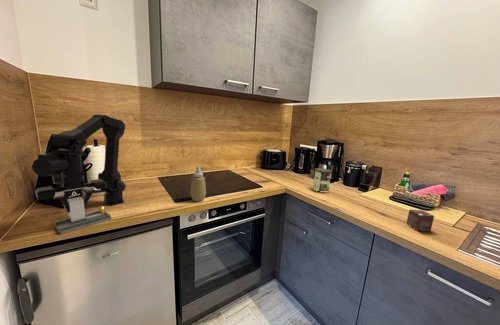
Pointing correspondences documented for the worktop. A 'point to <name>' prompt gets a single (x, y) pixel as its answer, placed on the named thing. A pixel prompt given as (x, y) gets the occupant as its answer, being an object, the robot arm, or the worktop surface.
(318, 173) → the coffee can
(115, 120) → the robot arm
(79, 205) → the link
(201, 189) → the squeeze bottle
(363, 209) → the worktop surface
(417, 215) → the box
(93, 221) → the rail
